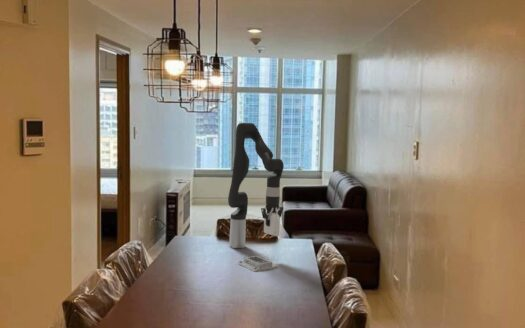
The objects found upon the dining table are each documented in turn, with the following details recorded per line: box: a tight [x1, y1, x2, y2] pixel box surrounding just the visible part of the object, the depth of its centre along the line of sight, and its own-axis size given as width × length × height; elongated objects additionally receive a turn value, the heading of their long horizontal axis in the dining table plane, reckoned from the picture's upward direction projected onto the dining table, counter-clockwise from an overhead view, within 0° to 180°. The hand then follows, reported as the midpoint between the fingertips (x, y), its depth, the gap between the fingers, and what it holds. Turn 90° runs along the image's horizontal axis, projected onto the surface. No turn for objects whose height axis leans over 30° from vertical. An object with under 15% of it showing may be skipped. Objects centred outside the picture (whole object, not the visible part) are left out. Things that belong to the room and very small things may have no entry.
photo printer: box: [263, 213, 281, 237], centre depth 273 cm, size 10×4×12 cm, turn 39°
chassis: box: [237, 255, 279, 272], centre depth 261 cm, size 16×15×3 cm
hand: (271, 225), depth 274 cm, fingers closed on photo printer, 4 cm apart
